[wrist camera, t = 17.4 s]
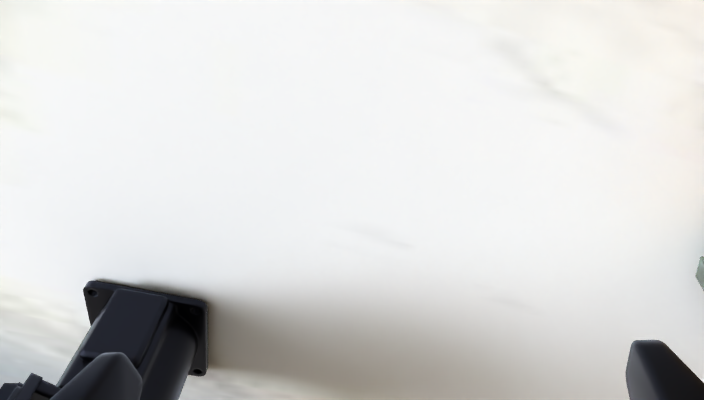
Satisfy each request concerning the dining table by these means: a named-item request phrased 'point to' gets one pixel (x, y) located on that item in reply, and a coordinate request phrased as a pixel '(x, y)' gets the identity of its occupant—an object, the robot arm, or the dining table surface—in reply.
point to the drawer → (700, 272)
